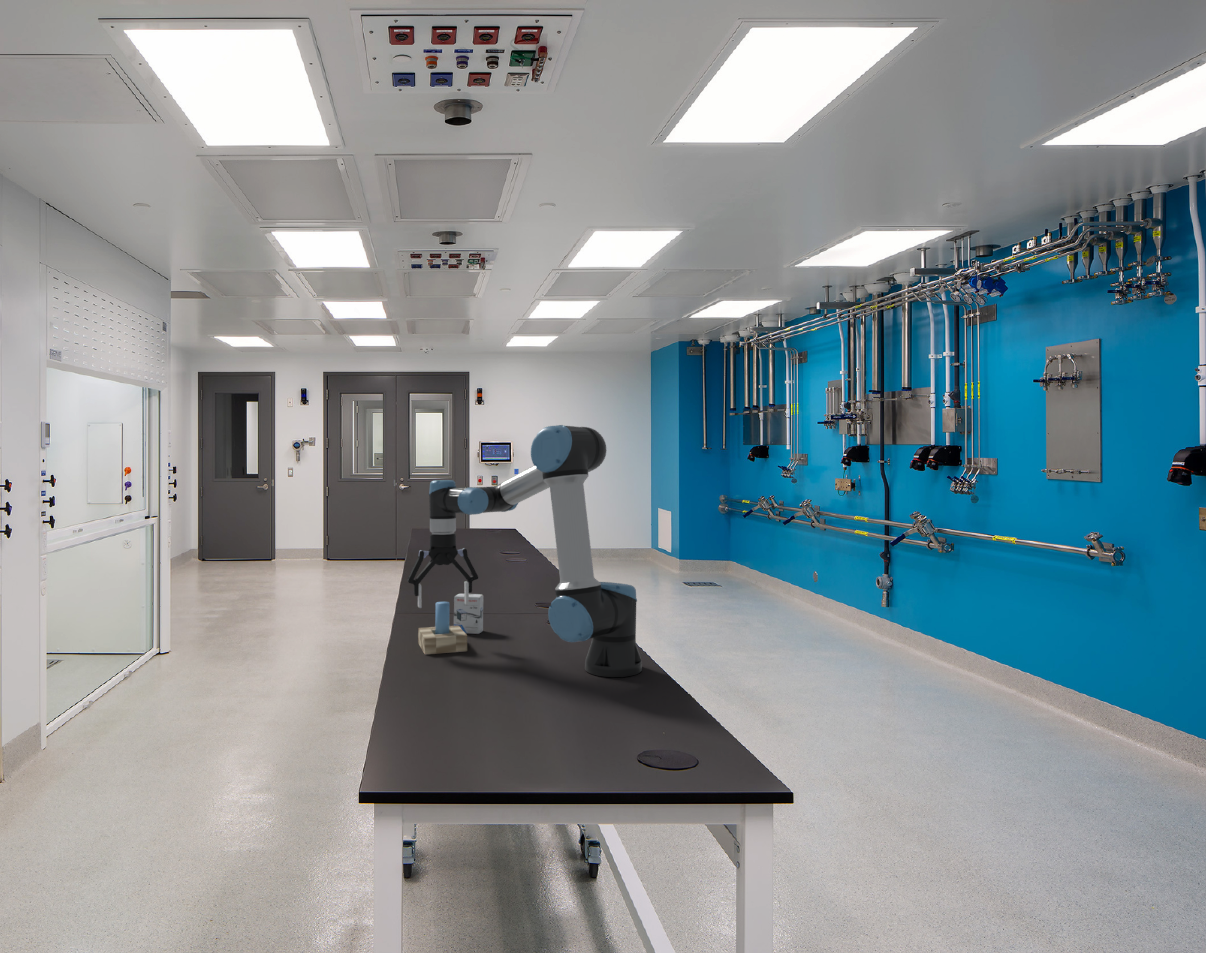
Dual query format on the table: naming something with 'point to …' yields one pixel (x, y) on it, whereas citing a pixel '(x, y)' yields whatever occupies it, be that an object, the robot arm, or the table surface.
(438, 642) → the socket block
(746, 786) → the table surface
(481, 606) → the ink box
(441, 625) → the peg
